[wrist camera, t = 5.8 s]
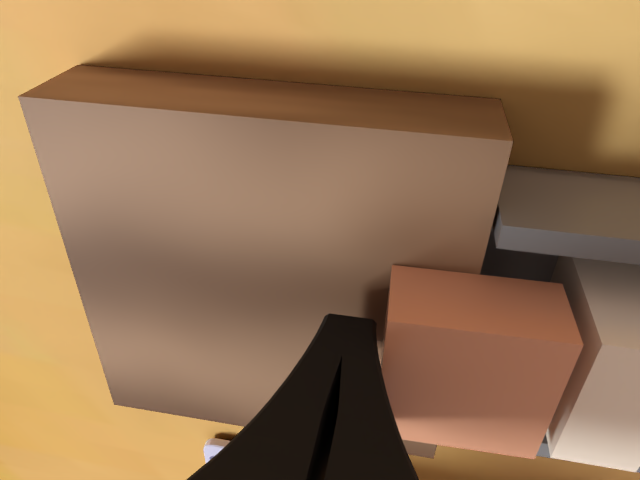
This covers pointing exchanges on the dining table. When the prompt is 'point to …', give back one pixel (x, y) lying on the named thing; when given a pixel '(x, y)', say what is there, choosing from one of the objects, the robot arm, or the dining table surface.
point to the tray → (561, 224)
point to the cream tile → (601, 366)
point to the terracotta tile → (476, 358)
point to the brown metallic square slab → (251, 218)
